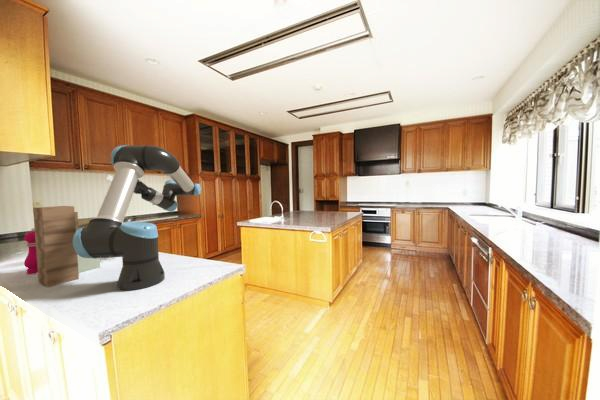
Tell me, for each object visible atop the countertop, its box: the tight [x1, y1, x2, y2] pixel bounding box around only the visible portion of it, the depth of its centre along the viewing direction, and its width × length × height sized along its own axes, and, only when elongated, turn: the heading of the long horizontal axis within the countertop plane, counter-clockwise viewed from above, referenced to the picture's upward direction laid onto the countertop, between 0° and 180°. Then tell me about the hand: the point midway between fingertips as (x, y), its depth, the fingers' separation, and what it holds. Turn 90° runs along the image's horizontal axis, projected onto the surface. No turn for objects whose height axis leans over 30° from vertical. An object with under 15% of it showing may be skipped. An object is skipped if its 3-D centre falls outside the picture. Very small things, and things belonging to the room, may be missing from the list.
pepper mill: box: [23, 227, 38, 275], centre depth 104 cm, size 7×7×20 cm
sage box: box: [76, 226, 101, 274], centre depth 105 cm, size 7×12×20 cm, turn 153°
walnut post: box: [32, 205, 80, 288], centre depth 92 cm, size 9×9×30 cm
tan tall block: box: [74, 211, 95, 228], centre depth 107 cm, size 7×18×7 cm, turn 153°
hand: (113, 176), depth 117 cm, fingers open, 13 cm apart
